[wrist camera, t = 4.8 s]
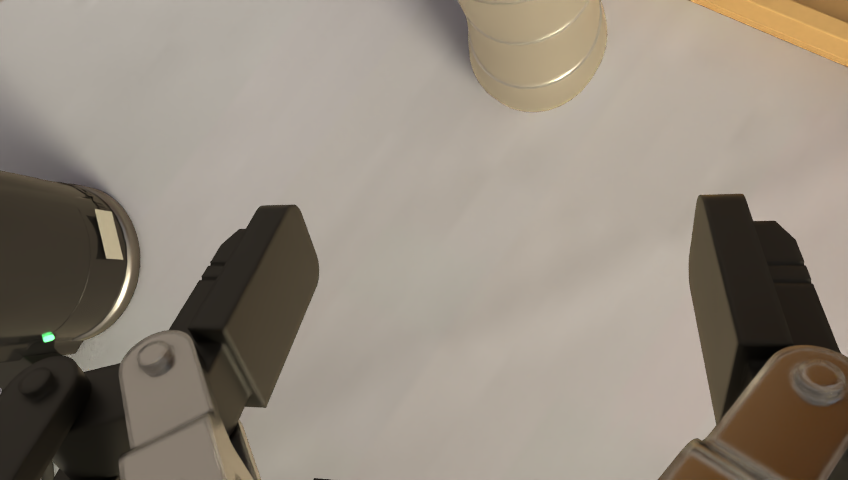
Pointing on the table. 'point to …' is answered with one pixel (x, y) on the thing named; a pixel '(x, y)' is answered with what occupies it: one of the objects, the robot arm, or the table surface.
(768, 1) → the tray
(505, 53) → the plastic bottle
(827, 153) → the table surface
